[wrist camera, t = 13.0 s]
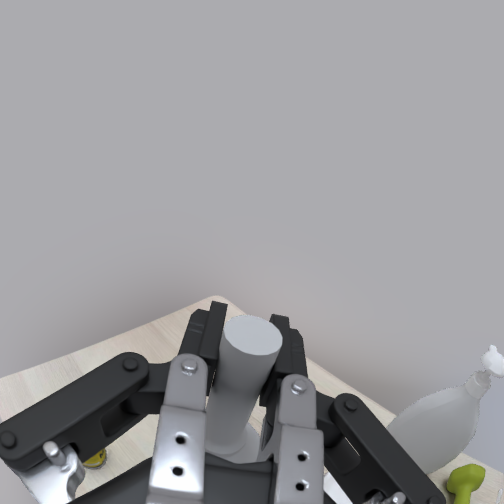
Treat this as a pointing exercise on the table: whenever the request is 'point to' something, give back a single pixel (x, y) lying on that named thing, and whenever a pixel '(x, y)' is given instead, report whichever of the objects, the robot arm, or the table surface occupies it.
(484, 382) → the soap bottle
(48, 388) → the table surface
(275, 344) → the bottle
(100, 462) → the supplement bottle
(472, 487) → the dumbbell
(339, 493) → the toy car
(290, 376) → the robot arm
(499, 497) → the action figure
